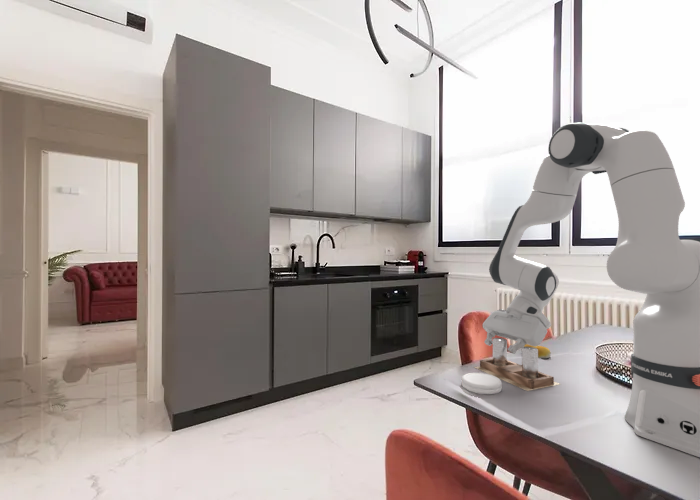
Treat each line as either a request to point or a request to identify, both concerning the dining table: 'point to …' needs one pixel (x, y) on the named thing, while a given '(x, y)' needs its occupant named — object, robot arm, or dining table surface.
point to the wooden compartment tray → (516, 375)
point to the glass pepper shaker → (499, 352)
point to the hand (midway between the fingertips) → (498, 348)
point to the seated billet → (530, 362)
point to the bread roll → (540, 351)
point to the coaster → (481, 384)
